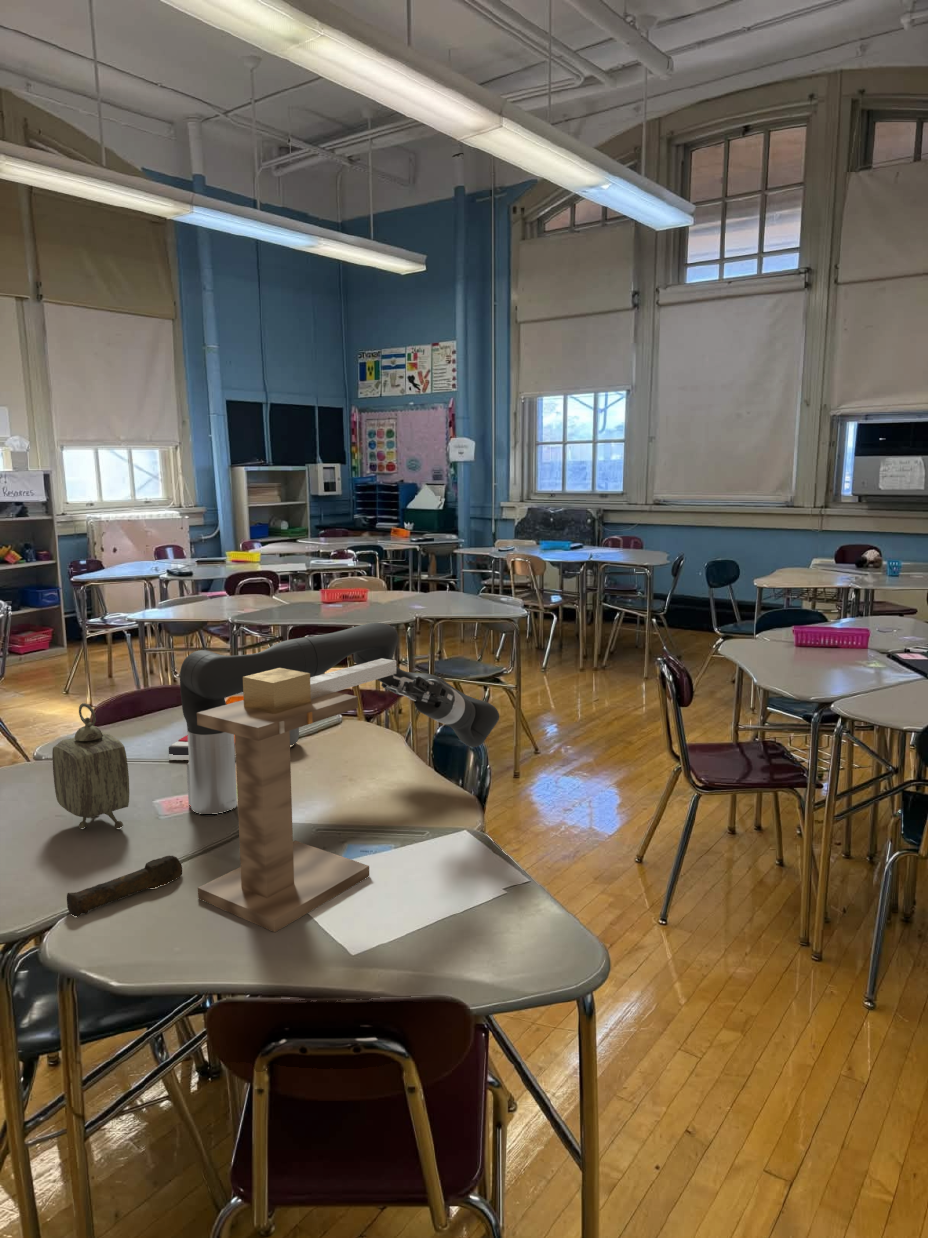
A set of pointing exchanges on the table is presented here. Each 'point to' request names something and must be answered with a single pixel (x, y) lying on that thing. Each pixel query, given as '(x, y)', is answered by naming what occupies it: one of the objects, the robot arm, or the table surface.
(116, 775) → the tabletop clock
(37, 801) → the table surface
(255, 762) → the stand
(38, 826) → the table surface
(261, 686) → the bar
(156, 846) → the table surface
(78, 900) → the hand tool
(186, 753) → the red black flat block
